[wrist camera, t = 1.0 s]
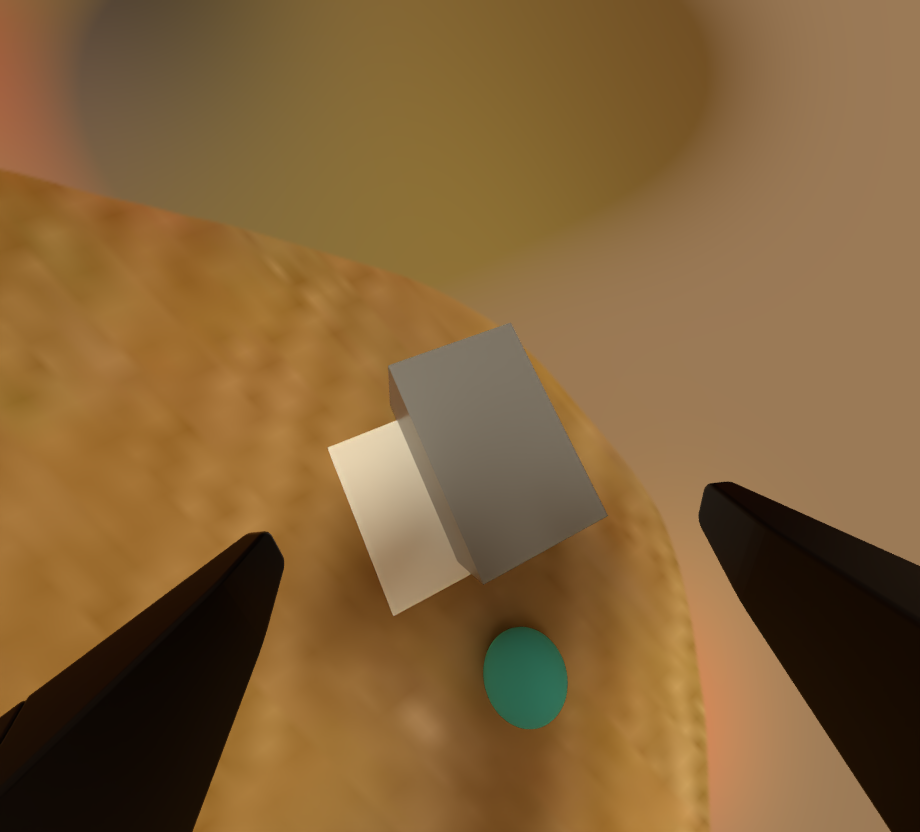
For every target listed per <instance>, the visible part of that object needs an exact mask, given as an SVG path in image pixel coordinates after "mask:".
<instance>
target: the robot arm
mask: <svg viewBox="0 0 920 832" xmlns="http://www.w3.org/2000/svg"><path fill="white" fill-rule="evenodd" d="M699 522H700V526H701V528H702V530H703V532H704V534H705V536H706V537H707V539H708V541H709V543H710V545H711V547H712V549H713V551H714V553H715V555H716V556H717V558H718V560H719V562H720V564H721V566H722V568H723V570H724V572H725V573H726V575H727V577H728V579H729V581H730V583H731V585H732V587H733V589H734V591H735V592H736V594H737V596H738V598H739V599H740V601H741V603H742V604H743V606H744V608H745V609H746V611H747V612H748V614H749V616H750V617H751V619H752V620H753V622H754V623H755V625H756V626H757V628H758V629H759V631H760V632H761V634H762V635H763V637H764V638H765V640H766V642H767V643H768V645H769V646H770V648H771V649H772V651H773V652H774V654H775V655H776V657H777V658H778V660H779V661H780V663H781V664H782V666H783V668H784V669H785V670H786V672H787V674H788V675H789V677H790V678H791V680H792V681H793V683H794V684H795V686H796V687H797V689H798V690H799V692H800V694H801V695H802V697H803V698H804V700H805V701H806V703H807V704H808V706H809V707H810V709H811V710H812V712H813V713H814V715H815V716H816V718H817V719H818V721H819V723H820V724H821V726H822V727H823V729H824V730H825V732H826V733H827V735H828V736H829V738H830V739H831V741H832V742H833V744H834V745H835V747H836V749H837V750H838V752H839V753H840V755H841V756H842V758H843V759H844V761H845V762H846V764H847V765H848V767H849V768H850V770H851V771H852V773H853V774H854V776H855V778H856V779H857V781H858V782H859V783H860V785H861V787H862V788H863V790H864V791H865V793H866V794H867V796H868V797H869V799H870V800H871V802H872V803H873V805H874V807H875V808H876V810H877V811H878V813H879V814H880V816H881V817H882V819H883V820H884V822H885V823H886V825H887V826H888V828H889V829H890V831H891V832H920V566H919V565H916V564H914V563H912V562H909V561H907V560H905V559H903V558H901V557H898V556H896V555H894V554H892V553H889V552H887V551H884V550H883V549H880V548H878V547H876V546H874V545H872V544H869V543H867V542H865V541H863V540H860V539H858V538H856V537H854V536H852V535H849V534H847V533H845V532H843V531H840V530H838V529H836V528H833V527H831V526H829V525H827V524H825V523H822V522H820V521H818V520H815V519H813V518H811V517H809V516H807V515H805V514H802V513H800V512H798V511H796V510H793V509H791V508H789V507H787V506H784V505H782V504H780V503H778V502H776V501H773V500H771V499H769V498H767V497H764V496H762V495H760V494H758V493H755V492H753V491H751V490H749V489H746V488H744V487H742V486H740V485H738V484H735V483H733V482H719V483H710V484H708V485H707V486H706V487H705V489H704V492H703V497H702V501H701V506H700V510H699ZM283 569H284V558H283V555H282V554H281V552H280V550H279V548H278V546H277V544H276V542H275V540H274V539H273V537H272V535H271V534H270V533H269V532H265V531H263V532H254V533H248V534H246V535H245V536H243V537H242V538H241V539H239V540H238V541H237V542H235V543H234V544H232V545H231V546H230V547H228V548H227V549H226V550H224V551H223V552H222V553H220V554H219V555H218V556H216V557H215V558H214V559H212V560H211V561H210V562H208V563H207V564H206V565H204V566H203V567H202V568H200V569H199V570H198V571H196V572H195V573H194V574H192V575H191V576H190V577H188V578H187V579H185V580H184V581H183V582H181V583H180V584H179V585H177V586H176V587H175V588H173V589H172V590H171V591H169V592H168V593H167V594H165V595H164V596H163V597H161V598H160V599H159V600H157V601H156V602H155V603H153V604H152V605H151V606H149V607H148V608H147V609H145V610H144V611H143V612H141V613H140V614H139V615H137V616H136V617H134V618H133V619H132V620H130V621H129V622H128V623H126V624H125V625H124V626H122V627H121V628H120V629H118V630H117V631H116V632H114V633H113V634H112V635H110V636H109V637H108V638H106V639H105V640H104V641H102V642H101V643H100V644H98V645H97V646H96V647H94V648H93V649H92V650H90V651H89V652H87V653H86V654H85V655H83V656H82V657H81V658H79V659H78V660H77V661H75V662H74V663H73V664H71V665H70V666H69V667H67V668H66V669H65V670H63V671H62V672H61V673H59V674H58V675H57V676H55V677H54V678H53V679H51V680H50V681H49V682H47V683H46V684H45V685H43V686H42V687H41V688H39V689H38V690H36V691H35V692H34V693H32V694H31V695H30V696H29V697H28V698H27V700H26V701H22V702H20V703H19V704H17V705H16V706H15V707H13V708H12V709H11V710H9V711H8V712H7V713H5V714H4V715H3V716H1V717H0V832H193V829H194V826H195V824H196V821H197V818H198V816H199V813H200V810H201V808H202V805H203V802H204V800H205V797H206V794H207V792H208V789H209V786H210V784H211V781H212V778H213V776H214V773H215V770H216V768H217V765H218V762H219V760H220V757H221V754H222V752H223V749H224V746H225V744H226V741H227V738H228V736H229V733H230V730H231V728H232V725H233V722H234V720H235V717H236V714H237V712H238V709H239V706H240V704H241V701H242V698H243V696H244V693H245V690H246V688H247V685H248V682H249V680H250V677H251V674H252V672H253V669H254V666H255V664H256V661H257V658H258V656H259V653H260V650H261V647H262V644H263V641H264V638H265V635H266V632H267V628H268V624H269V621H270V617H271V614H272V610H273V606H274V603H275V599H276V595H277V592H278V588H279V584H280V581H281V577H282V573H283Z"/></svg>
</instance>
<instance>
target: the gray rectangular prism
mask: <svg viewBox="0 0 920 832" xmlns="http://www.w3.org/2000/svg"><path fill="white" fill-rule="evenodd" d="M388 373H389V393H390V406H391V408H392V410H393V413H394V415H395V417H396V420H397V421H398V424H399V426H400V428H401V431H402V433H403V435H404V438H405V440H406V442H407V445H408V447H409V449H410V452H411V454H412V456H413V459H414V461H415V463H416V466H417V468H418V470H419V473H420V475H421V477H422V480H423V482H424V484H425V487H426V489H427V491H428V494H429V496H430V498H431V501H432V503H433V505H434V508H435V510H436V512H437V515H438V517H439V519H440V522H441V524H442V526H443V529H444V531H445V533H446V536H447V538H448V540H449V543H450V545H451V547H452V550H453V552H454V554H455V557H456V559H457V561H458V563H460V564H461V565H462V566H463V567H464V568H465V569H466V570H467V571H469V572H470V573H471V574H472V575H473V576H474V577H475V578H476V579H478V580H479V581H480V582H481V583H482V584H483V585H484V584H486V583H488V582H489V581H491V580H493V579H495V578H497V577H498V576H500V575H502V574H504V573H506V572H507V571H509V570H511V569H513V568H515V567H516V566H518V565H520V564H522V563H524V562H525V561H527V560H529V559H531V558H533V557H534V556H536V555H538V554H540V553H542V552H543V551H545V550H547V549H549V548H551V547H552V546H554V545H556V544H558V543H560V542H562V541H563V540H565V539H567V538H569V537H571V536H572V535H574V534H576V533H578V532H580V531H581V530H583V529H585V528H587V527H589V526H590V525H592V524H594V523H596V522H598V521H599V520H601V519H603V518H605V517H607V516H608V515H607V513H606V511H605V509H604V507H603V505H602V503H601V501H600V499H599V497H598V495H597V493H596V491H595V489H594V487H593V485H592V483H591V481H590V479H589V477H588V475H587V473H586V471H585V469H584V467H583V465H582V463H581V461H580V459H579V457H578V455H577V453H576V451H575V449H574V447H573V445H572V443H571V441H570V439H569V437H568V435H567V433H566V431H565V429H564V428H563V426H562V424H561V422H560V420H559V418H558V416H557V414H556V412H555V410H554V408H553V406H552V404H551V402H550V400H549V398H548V396H547V394H546V392H545V390H544V388H543V386H542V384H541V382H540V380H539V378H538V376H537V374H536V372H535V370H534V368H533V366H532V364H531V362H530V360H529V358H528V356H527V354H526V352H525V350H524V348H523V346H522V344H521V342H520V340H519V338H518V336H517V334H516V332H515V330H514V328H513V327H512V324H511V323H508V324H506V325H503V326H500V327H497V328H494V329H491V330H488V331H485V332H483V333H480V334H477V335H474V336H471V337H468V338H466V339H463V340H460V341H457V342H454V343H451V344H448V345H446V346H443V347H440V348H437V349H434V350H431V351H429V352H426V353H423V354H420V355H417V356H414V357H411V358H409V359H406V360H403V361H400V362H397V363H394V364H392V365H389V366H388Z"/></svg>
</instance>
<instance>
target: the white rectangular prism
mask: <svg viewBox="0 0 920 832" xmlns="http://www.w3.org/2000/svg"><path fill="white" fill-rule="evenodd" d="M328 450H329V453H330V455H331V458H332V461H333V463H334V466H335V468H336V471H337V473H338V476H339V478H340V481H341V484H342V486H343V489H344V491H345V494H346V496H347V499H348V501H349V504H350V507H351V509H352V512H353V514H354V517H355V519H356V522H357V524H358V527H359V530H360V532H361V535H362V537H363V540H364V542H365V545H366V548H367V550H368V553H369V555H370V558H371V560H372V563H373V565H374V568H375V571H376V573H377V576H378V578H379V581H380V583H381V586H382V588H383V591H384V594H385V596H386V599H387V601H388V604H389V606H390V609H391V612H392V614H393V616H395V615H397V614H399V613H400V612H402V611H404V610H406V609H408V608H410V607H412V606H413V605H415V604H417V603H419V602H421V601H423V600H424V599H426V598H428V597H430V596H432V595H434V594H436V593H437V592H439V591H441V590H443V589H445V588H447V587H449V586H450V585H452V584H454V583H456V582H458V581H460V580H461V579H463V578H465V577H467V576H469V575H471V573H470V572H469V571H467V570H466V569H465V568H464V567H463V566H462V565H461V564H460V563H458V561H457V559H456V557H455V554H454V552H453V550H452V547H451V545H450V543H449V540H448V538H447V536H446V533H445V531H444V529H443V526H442V524H441V522H440V519H439V517H438V515H437V512H436V510H435V508H434V505H433V503H432V501H431V498H430V496H429V494H428V491H427V489H426V487H425V484H424V482H423V480H422V477H421V475H420V473H419V470H418V468H417V466H416V463H415V461H414V459H413V456H412V454H411V452H410V449H409V447H408V445H407V442H406V440H405V438H404V435H403V433H402V431H401V428H400V426H399V424H398V421H394V422H392V423H389V424H386V425H384V426H381V427H379V428H376V429H374V430H371V431H369V432H366V433H364V434H361V435H359V436H356V437H353V438H351V439H348V440H346V441H343V442H341V443H338V444H336V445H333V446H331V447H328Z"/></svg>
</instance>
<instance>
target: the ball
mask: <svg viewBox="0 0 920 832" xmlns="http://www.w3.org/2000/svg"><path fill="white" fill-rule="evenodd" d="M483 677H484V685H485V689H486V692H487V695H488V698H489V700H490V702H491V704H492V705H493V707H494V709H495V710H496V711H497V713H498V714H499V715H500V716H501V717H502V718H503V719H505V720H506V721H507V722H509V723H510V724H512V725H514V726H516V727H519V728H523V729H537V728H541V727H543V726H545V725H547V724H549V723H550V722H551V721H552V720H553V719H554V718H555V717H556V716H557V715H558V714H559V712H560V711H561V709H562V707H563V705H564V702H565V699H566V695H567V686H568V681H567V671H566V667H565V664H564V661H563V658H562V656H561V654H560V652H559V651H558V649H557V647H556V646H555V645H554V644H553V642H552V641H551V640H550V639H549V638H548V637H546V636H545V635H544V634H542V633H541V632H539V631H537V630H535V629H532V628H528V627H514V628H510V629H508V630H506V631H504V632H502V633H501V634H499V635H498V636H497V637H496V638H495V639H494V641H493V642H492V643H491V645H490V647H489V649H488V651H487V654H486V657H485V661H484V667H483Z"/></svg>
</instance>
